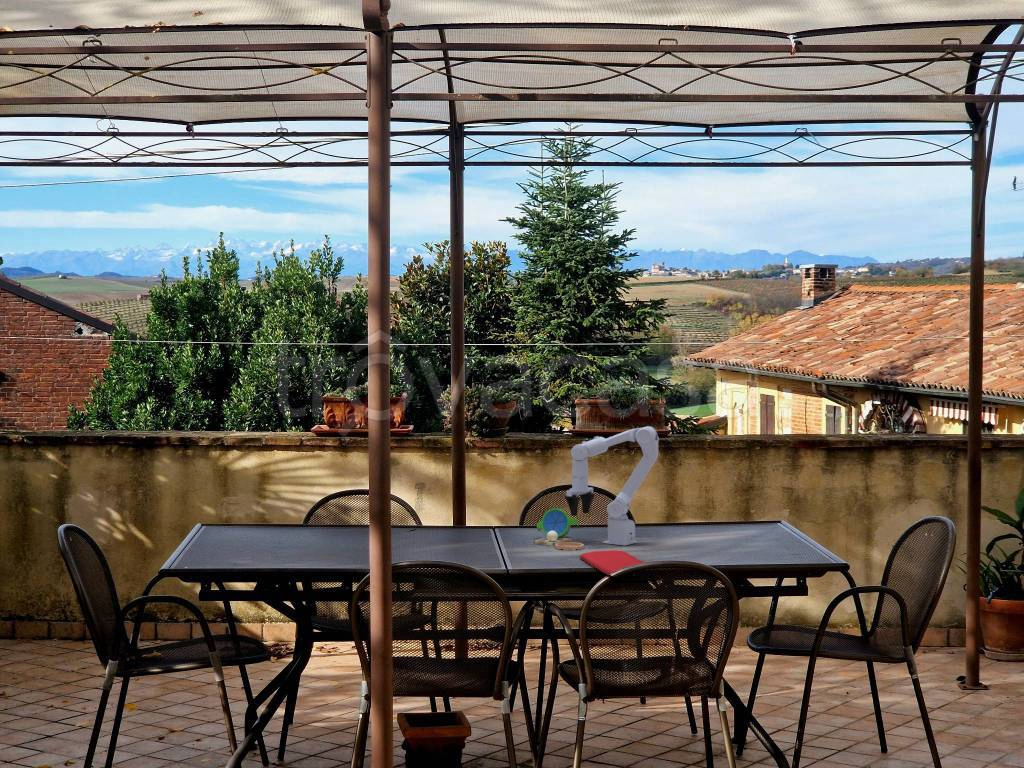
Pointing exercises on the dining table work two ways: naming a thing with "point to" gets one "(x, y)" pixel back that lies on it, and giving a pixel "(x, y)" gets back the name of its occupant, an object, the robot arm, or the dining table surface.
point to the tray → (547, 542)
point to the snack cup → (556, 522)
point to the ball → (552, 536)
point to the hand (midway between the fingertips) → (580, 514)
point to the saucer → (569, 545)
